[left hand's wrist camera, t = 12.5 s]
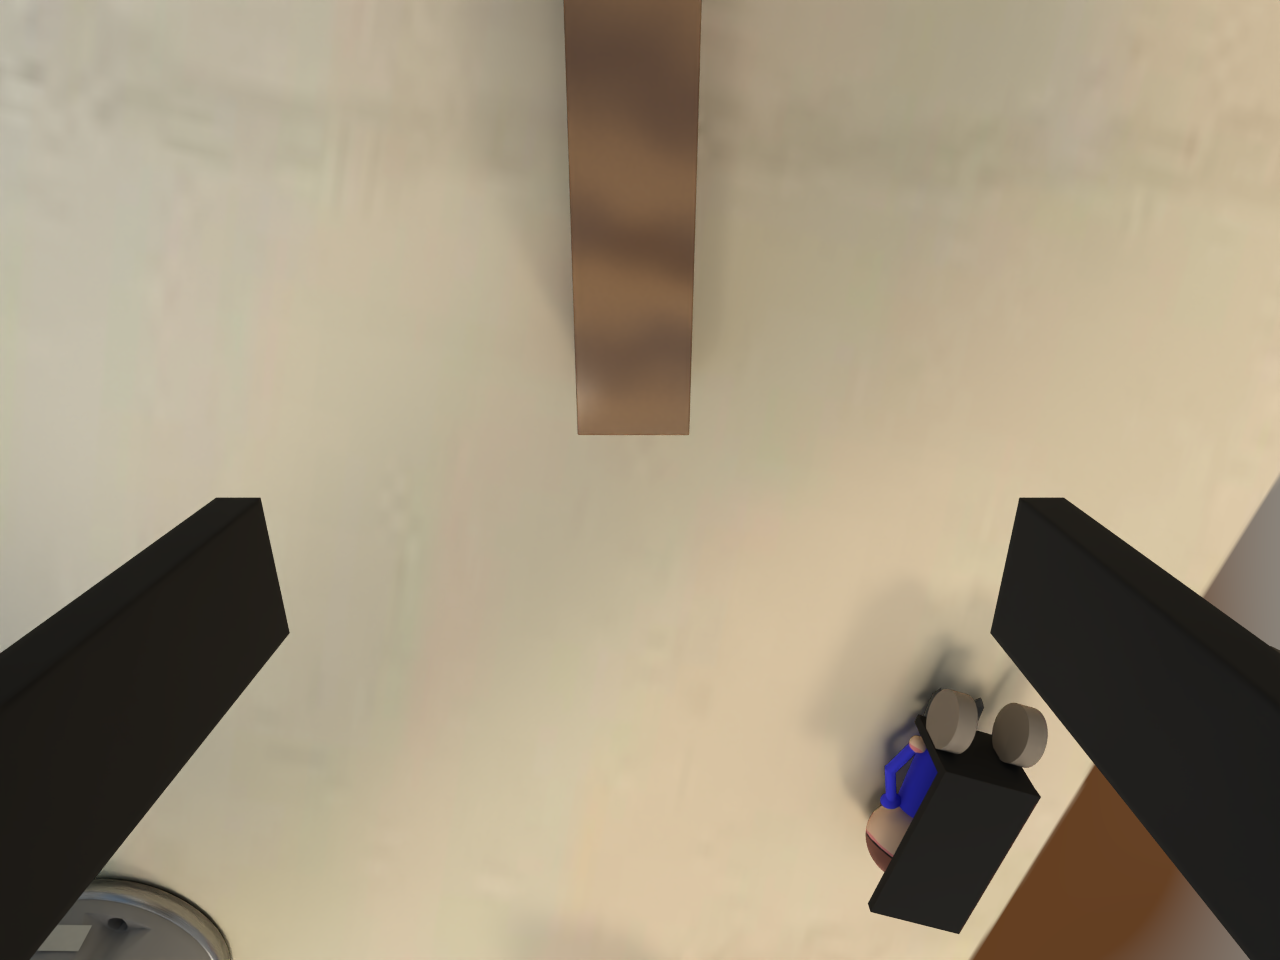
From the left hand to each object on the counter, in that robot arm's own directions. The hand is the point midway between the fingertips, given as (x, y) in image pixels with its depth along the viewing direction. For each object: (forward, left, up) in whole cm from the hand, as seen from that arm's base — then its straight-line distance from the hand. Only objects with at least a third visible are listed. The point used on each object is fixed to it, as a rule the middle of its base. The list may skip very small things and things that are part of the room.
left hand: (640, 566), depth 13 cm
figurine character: (-35, -6, -27) cm, 44 cm away
